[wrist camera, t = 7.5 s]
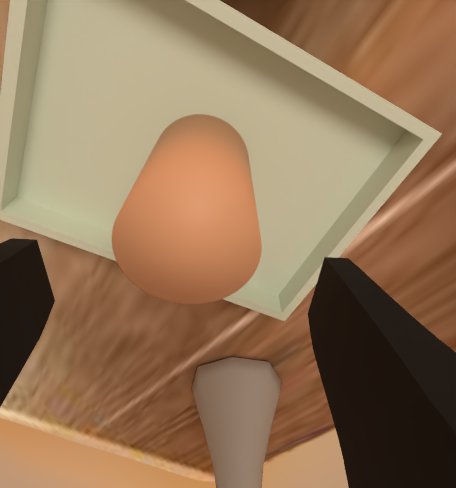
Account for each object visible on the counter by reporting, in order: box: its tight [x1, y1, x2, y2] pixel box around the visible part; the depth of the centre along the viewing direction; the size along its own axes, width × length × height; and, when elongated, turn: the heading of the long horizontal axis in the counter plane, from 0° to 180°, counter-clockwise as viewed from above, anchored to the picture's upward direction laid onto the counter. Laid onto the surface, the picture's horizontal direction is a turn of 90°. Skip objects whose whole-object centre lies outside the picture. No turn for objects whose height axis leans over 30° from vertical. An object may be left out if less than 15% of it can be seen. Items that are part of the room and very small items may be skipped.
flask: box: [192, 357, 282, 488], centre depth 23 cm, size 7×7×10 cm
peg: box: [112, 114, 262, 304], centre depth 13 cm, size 4×4×7 cm
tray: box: [0, 0, 442, 321], centre depth 16 cm, size 16×12×2 cm
